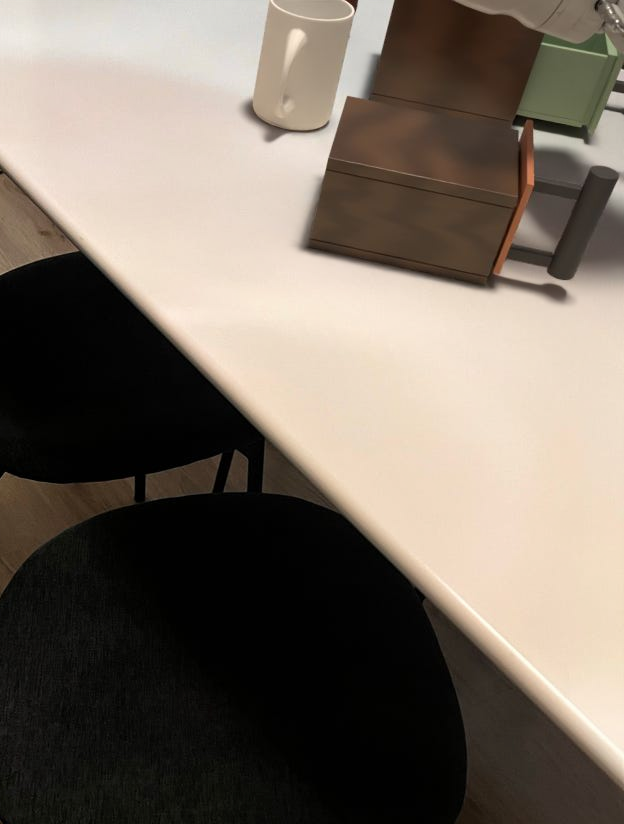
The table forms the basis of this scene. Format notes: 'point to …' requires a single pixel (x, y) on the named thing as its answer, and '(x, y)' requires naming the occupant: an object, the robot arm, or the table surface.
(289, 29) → the mug
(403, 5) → the wooden drawer cabinet
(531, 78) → the green drawer
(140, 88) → the table surface
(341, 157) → the cubby low
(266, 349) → the table surface
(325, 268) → the table surface
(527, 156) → the orange drawer
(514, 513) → the table surface
